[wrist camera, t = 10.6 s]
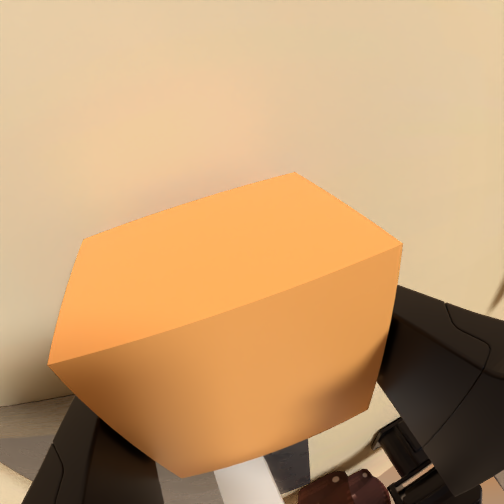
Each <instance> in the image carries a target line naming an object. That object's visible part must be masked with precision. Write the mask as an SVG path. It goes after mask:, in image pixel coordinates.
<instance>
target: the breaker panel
mask: <svg viewBox="0 0 504 504" xmlns="http://www.w3.org/2000/svg"><path fill="white" fill-rule="evenodd" d="M74 396H75V394H74V395H69V396H65V397H59V398H54V399H49V400H43V401H38V402H32V403H26V404H19V405H12V406H5V407H0V462H1V463H2V464H4V465H6V466H7V467H9V468H10V469H12V470H14V471H15V472H17V473H19V474H21V475H22V476H24V477H26V478H28V479H29V480H31V481H33V480H34V478H35V477H36V475H37V473H38V471H39V469H40V467H41V464H42V462H43V460H44V458H45V456H46V454H47V452H48V449H49V447H50V445H51V443H53V439H54V437H55V434H56V432H57V430H58V428H59V426H60V424H61V422H62V420H63V418H64V416H65V414H66V412H67V410H68V408H69V406H70V404H71V402H72V400H73V398H74ZM263 457H264V458H265V460H266V462H267V464H268V467H269V469H270V471H271V474H272V476H273V478H274V481H275V483H276V485H277V488H278V490H279V492H280V494H283V493H286V492H288V491H291V490H294V489H296V488H299V487H302V486H304V485H306V484H309V483H310V466H309V450H308V439H305V440H303V441H301V442H298V443H296V444H293V445H291V446H288V447H286V448H283V449H280V450H278V451H275V452H272V453H270V454H267V455H264V456H263ZM155 462H156V461H155ZM156 467H157V472H158V477H159V481H160V486H161V490H162V495H163V499H164V503H165V504H224V502H223V499H222V496H221V493H220V490H219V487H218V484H217V481H216V478H215V474H214V471H211V472H207V473H203V474H199V475H195V476H191V477H186V478H180V477H178V476H177V475H175V474H174V473H172V472H170V471H169V470H167V469H166V468H164V467H163V466H161V465H160V464H159V463H157V462H156Z"/></svg>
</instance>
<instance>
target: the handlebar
mask: <svg viewBox="0 0 504 504" xmlns="http://www.w3.org/2000/svg"><path fill="white" fill-rule="evenodd" d="M298 504H391V501H390V496H389V493H388V490H387V489H386V488H385V486H384V485H383V483H381V481H379V480H378V479H377V478H376V477H373V476H372V474H371V473H370V472H369V471H368V470H367V469H362V470H360V471H358V472H356V473H354V474H353V475H351V476H349V477H348V476H347V474H346V473H345V472H344V471H337V472H333V473H330V474H328V475H326V476H324V477H322V478H320V479H318V480H316V481H314V482H312V483H311V484H309V485H306V486H305V487H304V488H302V489H301V490H300V491H299V496H298Z"/></svg>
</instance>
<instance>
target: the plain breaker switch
mask: <svg viewBox="0 0 504 504" xmlns="http://www.w3.org/2000/svg"><path fill="white" fill-rule="evenodd" d="M214 474H215V478H216V481H217V484H218V487H219V490H220V493H221V496H222V499H223V502H224V504H285V503H284V501H283V499H282V497H281V494H280V492H279V490H278V488H277V485H276V483H275V481H274V478H273V476H272V474H271V471H270V469H269V467H268V464H267V462H266V460H265V458H264V457H263V456H261V457H258V458H255V459H252V460H249V461H246V462H243V463H240V464H236V465H233V466H230V467H226V468H222V469H219V470H215V471H214Z"/></svg>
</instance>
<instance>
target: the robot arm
mask: <svg viewBox="0 0 504 504" xmlns="http://www.w3.org/2000/svg"><path fill="white" fill-rule="evenodd" d="M377 383H378V384H379V385H380V387H381V388H382V390H383V391H384V393H385V394H386V395H387V397H388V398H389V400H390V401H391V403H392V404H393V406H394V407H395V408H396V410H397V411H398V413H399V414H400V416H401V417H402V418H400V419H399V420H397V421H395V422H394V423H392V424H390V425H389V426H387V427H385V428H384V429H382V430H381V431H380V432H379V433H378V435H377V437H376V439H375V441H374V443H373V445H372V447H371V449H372V450H375V449H377V448H379V447H380V446H381V447H382V448H383V450H384V452H385V453H386V455H387V456H388V458H389V459H390V461H391V462H392V464H393V465H394V467H395V468H396V470H397V472H398V473H399V475H400V476H401V477H402V478H401V479H400V480H398V481H397V482H395V483H392V484H391V485H390V486H389V487H387V489H388V491H389V492H390V494H391V496H392V498H393V500H394V502H395V504H482V488H481V486H480V485H479V484H481V483H483V482H484V481H486V480H488V479H490V478H491V477H493V476H494V477H495V479H496V480H497V481H498V483H499V484H500V486H501V487H502V489H503V490H504V321H503V320H499V319H496V318H492V317H489V316H485V315H482V314H478V313H475V312H472V311H469V310H466V309H463V308H460V307H458V306H455V305H452V304H449V303H444V301H441V300H438V299H435V298H433V297H430V296H427V295H424V294H422V293H419V292H416V291H413V290H411V289H408V288H405V287H402V286H399V285H397V289H396V295H395V301H394V307H393V312H392V317H391V322H390V327H389V332H388V336H387V341H386V345H385V350H384V354H383V358H382V362H381V366H380V370H379V373H378V377H377ZM432 463H433V465H434V467H433V468H432V469H430V470H429V471H428V472H426V473H425V474H423V475H422V476H420V477H419V478H418V479H416V480H415V481H413V482H412V483H411V484H409V485H407V486H406V487H403V486H402V484H404V483H406V482H407V481H409V480H410V479H411V478H413V477H414V476H416V475H417V474H419V473H420V472H421V471H423V470H424V469H426V468H427V467H428V466H430V465H431V464H432ZM22 504H165V503H164V499H163V495H162V490H161V486H160V481H159V477H158V472H157V467H156V462H155V461H154V460H153V459H151V458H150V457H149V456H147V455H146V454H144V453H143V452H142V451H140V450H139V449H138V448H136V447H135V446H134V445H132V444H131V443H130V442H129V441H127V440H126V439H125V438H123V437H122V436H121V435H120V434H119V433H117V432H116V431H115V430H114V429H112V428H111V427H110V426H109V425H108V424H107V423H105V422H104V421H103V420H102V419H101V418H100V417H99V416H97V415H96V414H95V413H94V412H93V411H92V410H91V409H90V408H89V407H88V406H87V405H86V404H84V403H83V402H82V401H81V400H80V399H79V398H78V397H77V396H76V395H75V396H74V398H73V400H72V402H71V404H70V406H69V408H68V410H67V412H66V414H65V416H64V418H63V420H62V422H61V424H60V426H59V428H58V430H57V432H56V434H55V437H54V439H53V443H51V445H50V447H49V449H48V452H47V454H46V456H45V458H44V460H43V462H42V464H41V467H40V469H39V471H38V473H37V475H36V477H35V478H34V480H33V482H32V484H31V486H30V488H29V490H28V492H27V494H26V496H25V498H24V500H23V502H22Z"/></svg>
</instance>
